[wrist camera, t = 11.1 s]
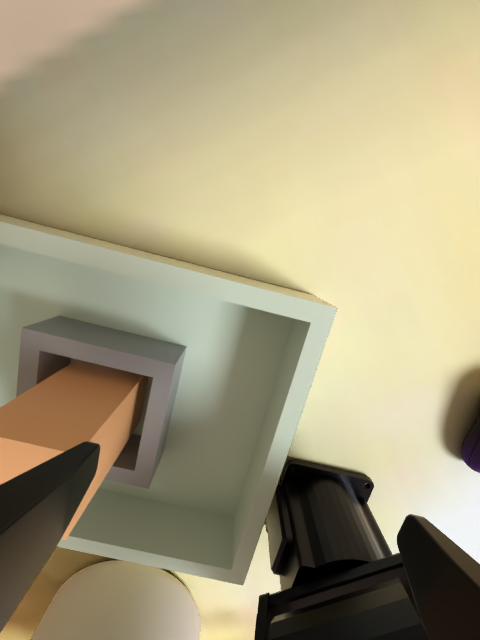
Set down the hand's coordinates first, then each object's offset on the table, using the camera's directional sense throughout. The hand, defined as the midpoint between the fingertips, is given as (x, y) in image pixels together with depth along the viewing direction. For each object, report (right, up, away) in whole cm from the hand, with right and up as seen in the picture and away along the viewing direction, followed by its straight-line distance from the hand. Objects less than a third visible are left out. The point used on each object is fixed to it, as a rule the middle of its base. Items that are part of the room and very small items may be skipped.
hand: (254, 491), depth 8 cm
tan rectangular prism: (-9, 0, +10) cm, 13 cm away
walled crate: (-9, +1, +11) cm, 14 cm away
